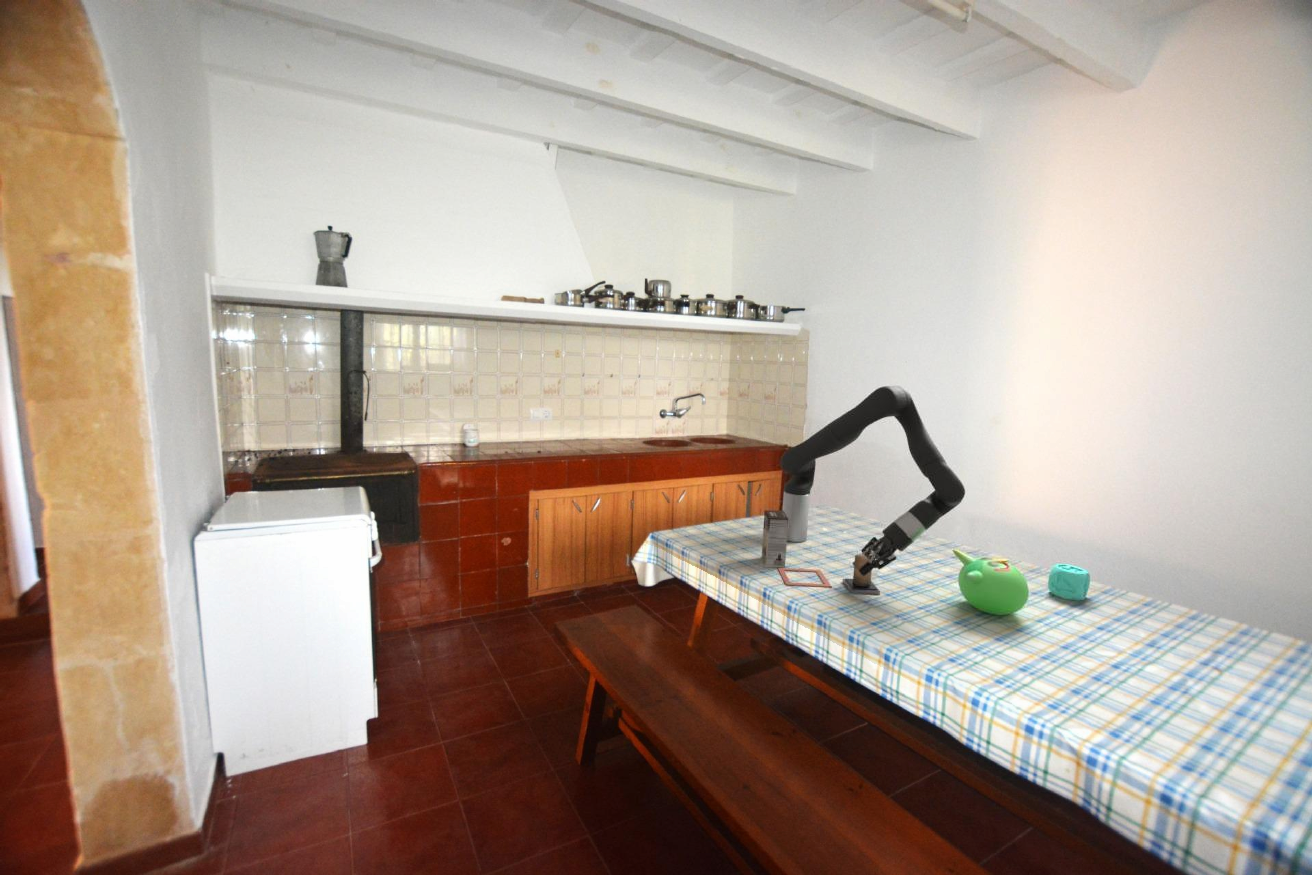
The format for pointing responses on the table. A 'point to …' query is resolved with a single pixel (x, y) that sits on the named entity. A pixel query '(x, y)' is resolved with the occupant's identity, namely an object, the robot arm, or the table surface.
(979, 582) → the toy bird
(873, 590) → the ink pad
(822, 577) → the marked square
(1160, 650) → the table surface
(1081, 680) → the table surface
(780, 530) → the coffee box
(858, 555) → the stamp
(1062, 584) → the decorative dice
